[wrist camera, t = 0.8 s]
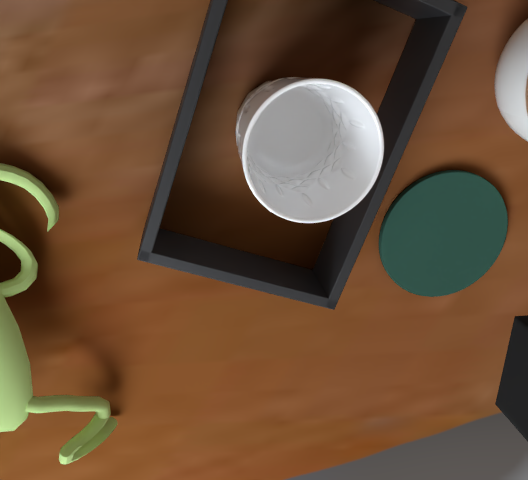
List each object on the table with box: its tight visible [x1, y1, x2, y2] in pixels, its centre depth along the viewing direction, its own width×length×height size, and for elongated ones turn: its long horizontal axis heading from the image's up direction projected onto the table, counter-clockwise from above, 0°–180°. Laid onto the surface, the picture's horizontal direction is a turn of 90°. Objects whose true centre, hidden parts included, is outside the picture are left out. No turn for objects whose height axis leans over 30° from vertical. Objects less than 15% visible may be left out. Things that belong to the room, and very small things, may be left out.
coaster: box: [379, 170, 508, 297], centre depth 41 cm, size 11×11×1 cm
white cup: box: [235, 77, 384, 223], centre depth 32 cm, size 8×8×10 cm
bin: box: [137, 0, 467, 310], centre depth 34 cm, size 22×15×5 cm
